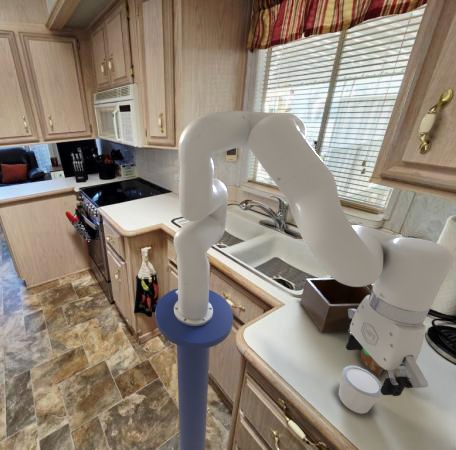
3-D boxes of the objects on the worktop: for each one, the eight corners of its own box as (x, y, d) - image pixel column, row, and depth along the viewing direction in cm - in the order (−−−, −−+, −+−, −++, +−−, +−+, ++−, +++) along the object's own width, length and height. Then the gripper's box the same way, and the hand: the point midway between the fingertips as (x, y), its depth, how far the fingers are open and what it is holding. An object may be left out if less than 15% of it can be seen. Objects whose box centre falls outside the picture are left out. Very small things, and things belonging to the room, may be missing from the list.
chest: (321, 331, 73) (329, 306, 69) (300, 302, 84) (305, 278, 80) (376, 330, 72) (387, 304, 68) (347, 300, 84) (355, 277, 80)
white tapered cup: (329, 383, 59) (336, 364, 56) (360, 385, 59) (368, 365, 56) (346, 415, 53) (354, 395, 50) (381, 418, 52) (392, 397, 49)
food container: (366, 337, 70) (377, 311, 66) (394, 353, 65) (408, 325, 61) (346, 361, 64) (356, 333, 60) (375, 380, 60) (389, 351, 55)
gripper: (342, 276, 52) (326, 335, 59) (420, 346, 37) (385, 415, 43) (379, 275, 52) (358, 334, 59) (474, 345, 36) (430, 415, 43)
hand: (370, 369), depth 51 cm, fingers open, 9 cm apart
